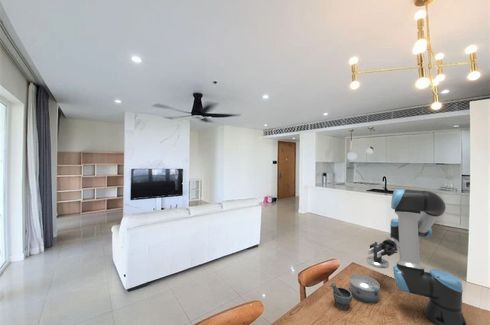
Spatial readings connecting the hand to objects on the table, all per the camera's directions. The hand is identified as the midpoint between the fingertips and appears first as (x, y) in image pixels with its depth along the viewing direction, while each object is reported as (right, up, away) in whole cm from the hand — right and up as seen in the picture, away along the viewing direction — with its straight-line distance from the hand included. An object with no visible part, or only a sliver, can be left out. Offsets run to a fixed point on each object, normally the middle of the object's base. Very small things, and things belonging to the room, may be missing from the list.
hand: (373, 253), depth 129 cm
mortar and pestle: (-26, -23, -13) cm, 37 cm away
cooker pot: (-9, -22, -5) cm, 24 cm away
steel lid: (+5, -7, +3) cm, 9 cm away
